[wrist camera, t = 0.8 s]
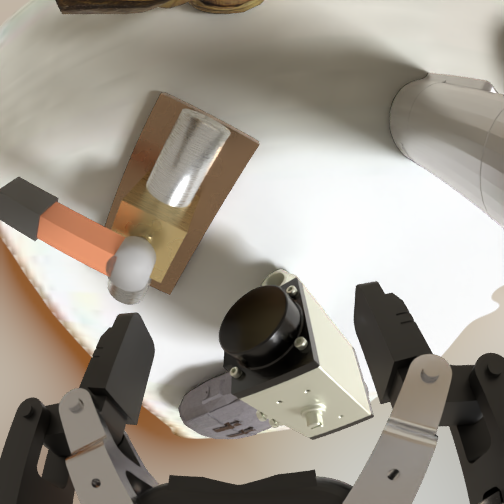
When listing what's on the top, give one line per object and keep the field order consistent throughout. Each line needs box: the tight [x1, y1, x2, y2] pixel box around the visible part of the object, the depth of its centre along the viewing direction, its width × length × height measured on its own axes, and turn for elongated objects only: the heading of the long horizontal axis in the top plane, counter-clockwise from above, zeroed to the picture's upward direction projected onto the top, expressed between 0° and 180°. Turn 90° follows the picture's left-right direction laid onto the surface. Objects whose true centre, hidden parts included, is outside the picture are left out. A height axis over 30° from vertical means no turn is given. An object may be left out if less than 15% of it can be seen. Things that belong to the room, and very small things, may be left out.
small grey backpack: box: [179, 372, 271, 439], centre depth 46 cm, size 15×8×20 cm
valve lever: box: [0, 177, 156, 292], centre depth 19 cm, size 14×3×3 cm, turn 59°
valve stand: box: [105, 93, 259, 305], centre depth 26 cm, size 20×10×10 cm, turn 149°
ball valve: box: [219, 269, 374, 440], centre depth 30 cm, size 18×8×18 cm, turn 36°
